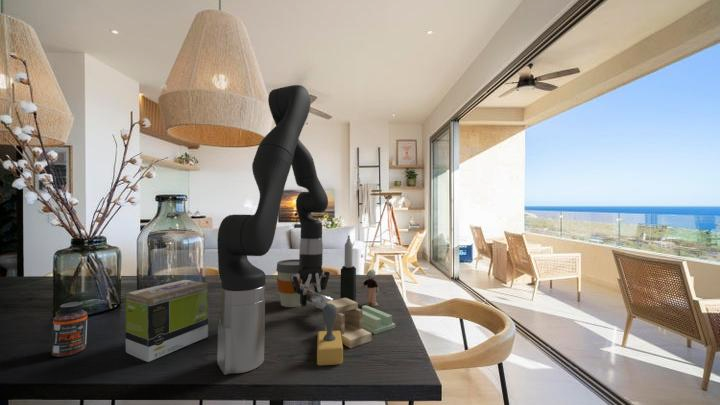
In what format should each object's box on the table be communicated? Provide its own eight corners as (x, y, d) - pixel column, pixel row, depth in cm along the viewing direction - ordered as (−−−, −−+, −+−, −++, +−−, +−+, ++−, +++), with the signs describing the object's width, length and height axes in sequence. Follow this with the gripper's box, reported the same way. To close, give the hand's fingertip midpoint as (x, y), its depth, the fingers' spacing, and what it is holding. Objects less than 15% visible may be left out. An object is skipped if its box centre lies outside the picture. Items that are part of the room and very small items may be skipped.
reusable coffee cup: (299, 296, 118) (300, 258, 119) (317, 303, 109) (318, 262, 109) (269, 302, 110) (270, 261, 110) (286, 311, 101) (287, 266, 101)
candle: (353, 305, 107) (354, 236, 107) (339, 304, 108) (340, 235, 108) (356, 301, 112) (357, 234, 112) (343, 300, 113) (343, 234, 113)
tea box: (185, 330, 84) (186, 278, 84) (208, 338, 79) (210, 282, 80) (123, 353, 71) (125, 290, 71) (146, 364, 66) (148, 297, 66)
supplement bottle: (55, 360, 67) (57, 310, 67) (47, 353, 70) (49, 305, 70) (90, 350, 72) (91, 303, 72) (81, 344, 75) (82, 298, 75)
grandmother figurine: (382, 304, 109) (383, 269, 109) (377, 307, 105) (377, 271, 106) (364, 301, 113) (365, 267, 113) (359, 303, 109) (359, 269, 110)
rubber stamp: (317, 345, 76) (318, 298, 76) (340, 344, 77) (340, 297, 77) (316, 365, 66) (317, 311, 67) (342, 364, 67) (343, 310, 67)
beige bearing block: (350, 348, 74) (350, 314, 75) (324, 332, 84) (325, 302, 84) (371, 340, 79) (371, 308, 79) (345, 326, 88) (345, 297, 88)
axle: (335, 311, 89) (336, 297, 90) (324, 313, 87) (324, 299, 87) (312, 300, 100) (312, 288, 100) (301, 302, 98) (302, 290, 98)
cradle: (375, 334, 83) (375, 321, 83) (347, 320, 93) (347, 309, 93) (395, 327, 88) (395, 315, 88) (367, 314, 98) (367, 304, 98)
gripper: (323, 249, 105) (322, 298, 105) (285, 252, 97) (284, 305, 96) (335, 251, 100) (334, 303, 99) (296, 254, 91) (295, 312, 90)
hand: (310, 304), depth 97 cm, fingers closed on axle, 4 cm apart
